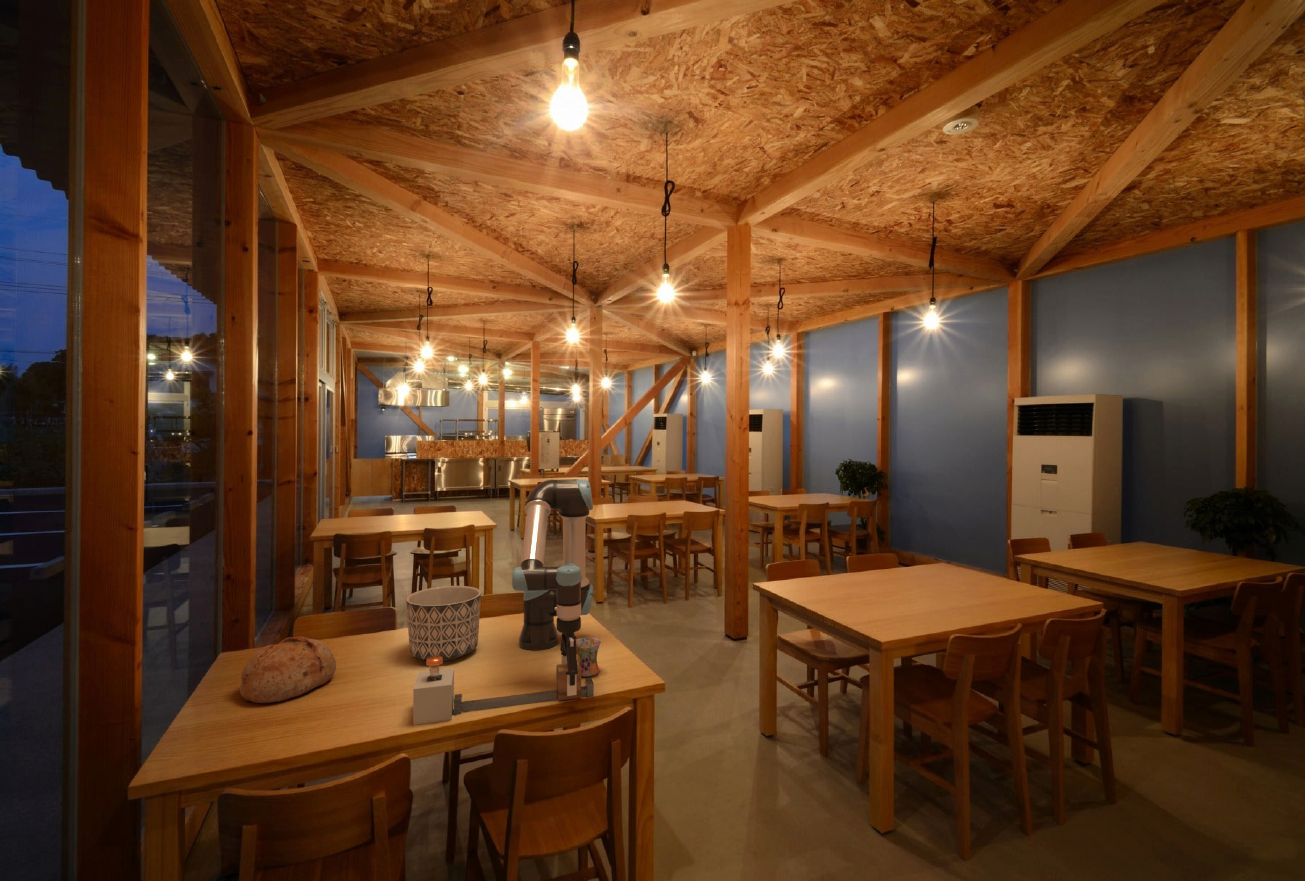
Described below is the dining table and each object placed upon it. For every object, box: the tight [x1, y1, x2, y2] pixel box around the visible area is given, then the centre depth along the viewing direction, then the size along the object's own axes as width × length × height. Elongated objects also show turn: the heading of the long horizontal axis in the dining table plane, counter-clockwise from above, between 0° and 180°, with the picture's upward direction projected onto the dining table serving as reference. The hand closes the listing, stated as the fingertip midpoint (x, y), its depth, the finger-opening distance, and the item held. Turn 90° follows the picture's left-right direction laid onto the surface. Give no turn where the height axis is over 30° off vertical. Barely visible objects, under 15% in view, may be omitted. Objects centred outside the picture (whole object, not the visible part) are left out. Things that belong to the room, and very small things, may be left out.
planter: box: [405, 585, 482, 662], centre depth 205 cm, size 26×26×22 cm
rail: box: [453, 677, 595, 715], centre depth 168 cm, size 4×41×4 cm, turn 107°
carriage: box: [555, 662, 582, 701], centre depth 172 cm, size 5×7×9 cm
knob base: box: [412, 667, 455, 726], centre depth 162 cm, size 12×10×10 cm
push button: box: [425, 656, 444, 681], centre depth 162 cm, size 4×4×6 cm
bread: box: [239, 636, 337, 704], centre depth 178 cm, size 26×23×15 cm
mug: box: [576, 636, 601, 678], centre depth 190 cm, size 12×9×11 cm
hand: (568, 685), depth 172 cm, fingers open, 13 cm apart
